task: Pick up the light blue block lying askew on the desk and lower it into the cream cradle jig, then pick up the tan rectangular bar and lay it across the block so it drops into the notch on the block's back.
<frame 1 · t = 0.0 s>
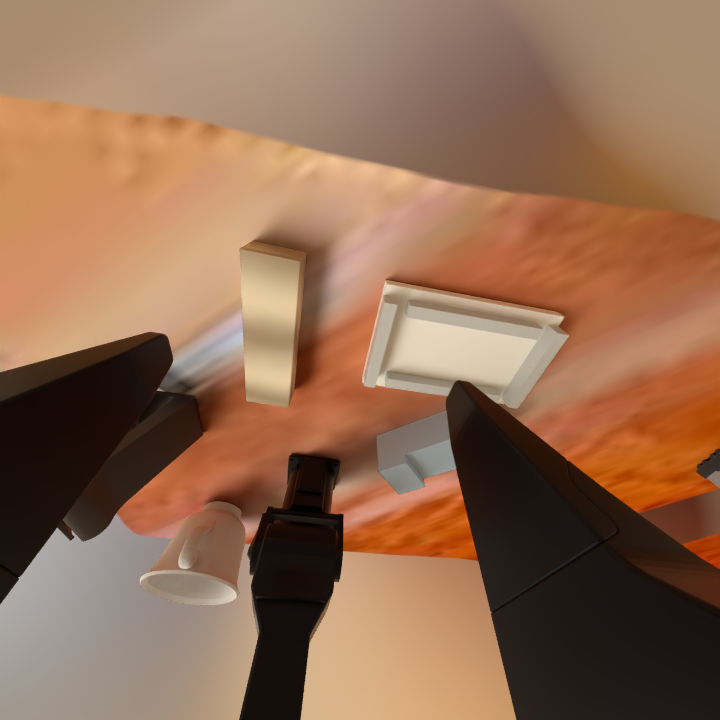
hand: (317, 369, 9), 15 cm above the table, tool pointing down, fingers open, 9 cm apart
phone stand: (159, 408, 31), on the table
jig: (451, 346, 25), on the table
teacup: (223, 504, 42), on the table
light blue block: (431, 429, 32), on the table
tan rectangular bar: (278, 325, 25), on the table
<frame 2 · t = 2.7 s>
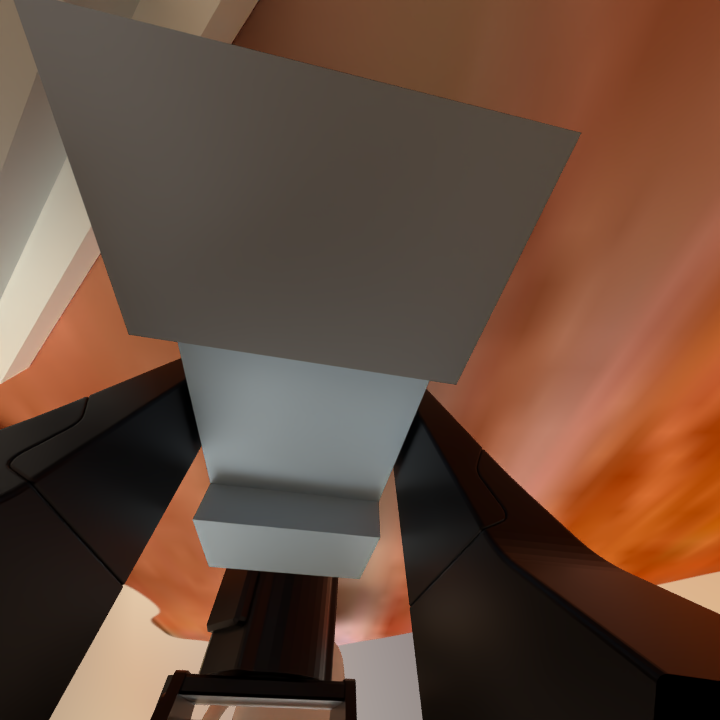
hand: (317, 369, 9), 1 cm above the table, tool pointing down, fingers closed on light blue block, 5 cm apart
teacup: (295, 613, 29), on the table
light blue block: (323, 344, 10), on the table, touching gripper
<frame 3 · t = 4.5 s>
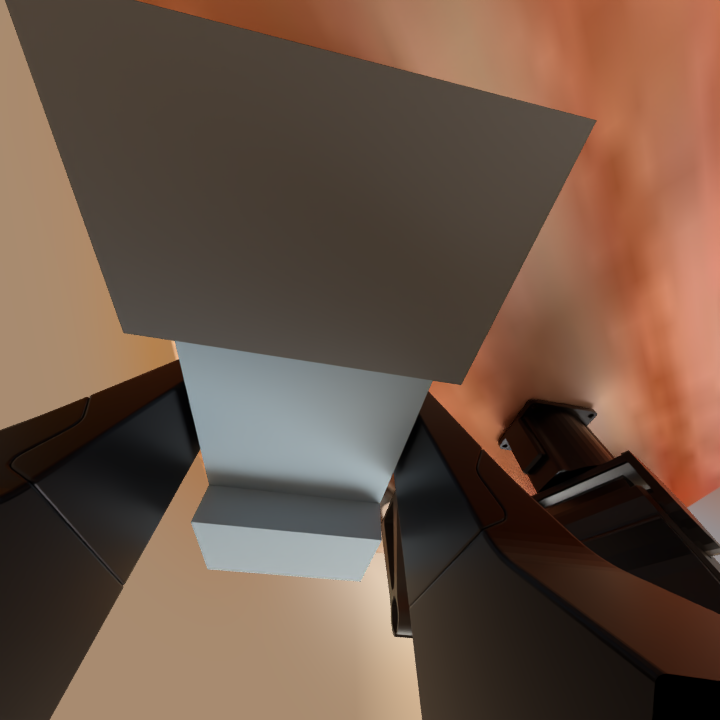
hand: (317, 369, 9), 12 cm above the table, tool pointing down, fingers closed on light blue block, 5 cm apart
phone stand: (409, 508, 36), on the table
light blue block: (323, 344, 10), point 10 cm above the table, touching gripper
when the fingers open (4 cm above the table, at t = 6.3 s): light blue block drops 2 cm, resting on jig.
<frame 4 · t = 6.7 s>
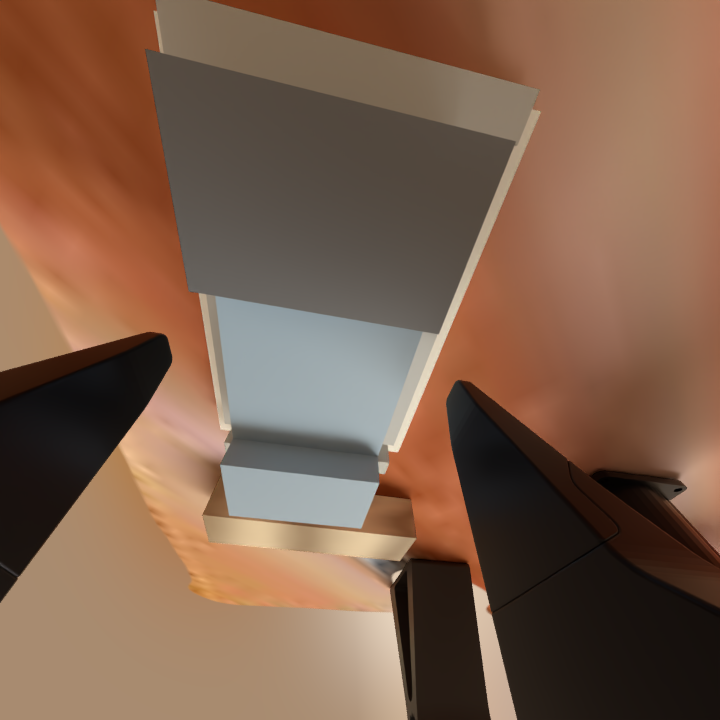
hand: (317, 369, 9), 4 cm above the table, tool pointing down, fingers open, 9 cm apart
phone stand: (425, 574, 30), on the table
jig: (329, 313, 12), on the table
light blue block: (328, 323, 11), point 1 cm above the table, touching jig
tan rectangular bar: (316, 497, 21), on the table
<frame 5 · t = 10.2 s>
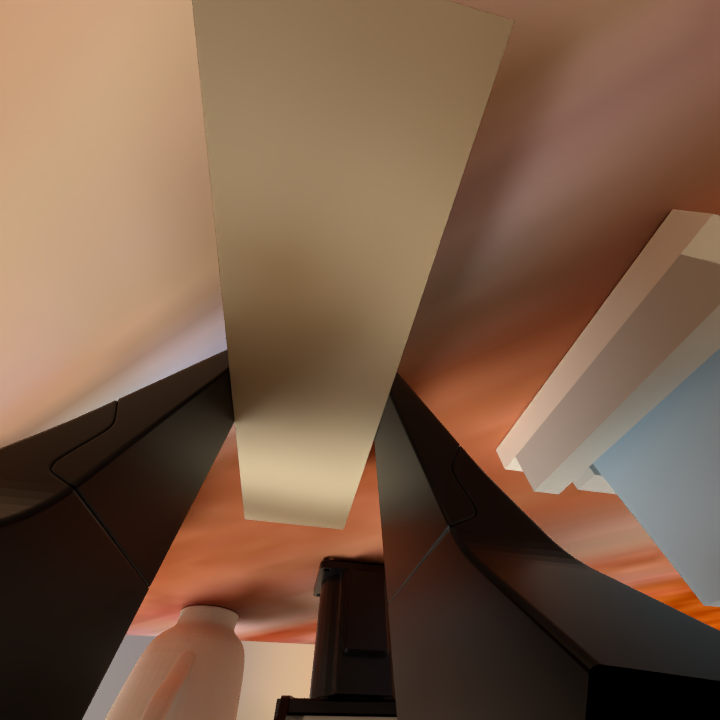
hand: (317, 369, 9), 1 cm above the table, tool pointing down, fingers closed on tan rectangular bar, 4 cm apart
teacup: (210, 606, 28), on the table
tan rectangular bar: (323, 341, 10), on the table, touching gripper
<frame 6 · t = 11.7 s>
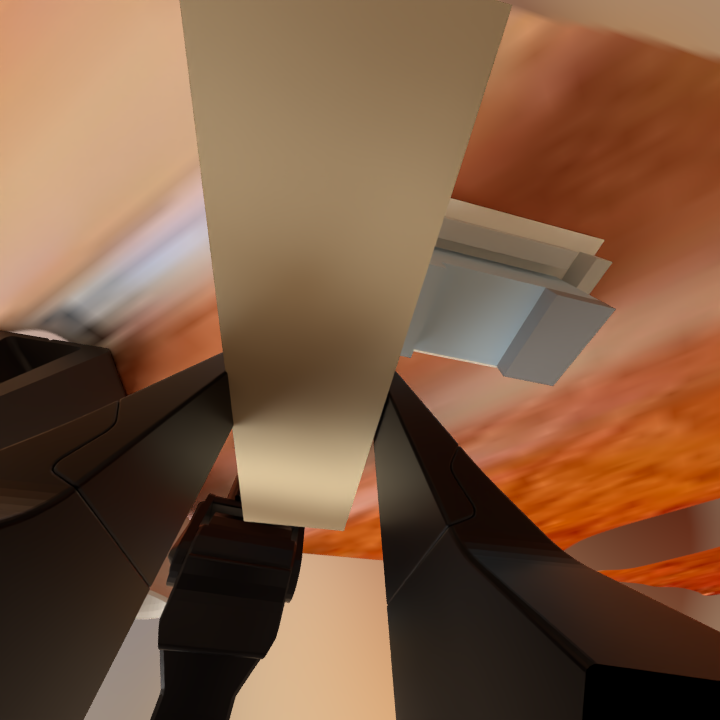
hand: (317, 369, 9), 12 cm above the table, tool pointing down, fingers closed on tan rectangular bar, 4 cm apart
phone stand: (67, 367, 24), on the table
jig: (448, 286, 19), on the table
teacup: (168, 496, 35), on the table
light blue block: (452, 293, 18), point 1 cm above the table, touching jig
tan rectangular bar: (321, 340, 10), point 10 cm above the table, touching gripper
when the fingers open (7 cm above the table, at t = 13.1 s): tan rectangular bar drops 1 cm, resting on light blue block.
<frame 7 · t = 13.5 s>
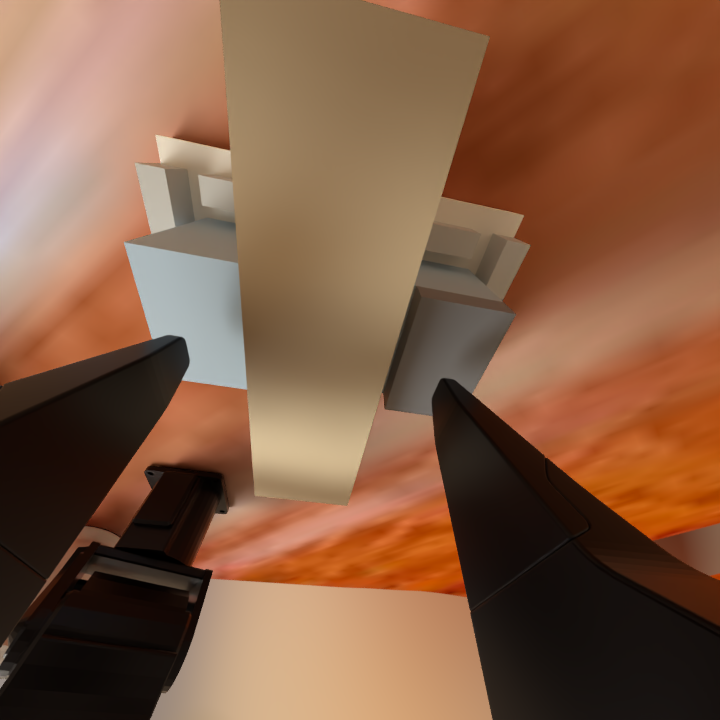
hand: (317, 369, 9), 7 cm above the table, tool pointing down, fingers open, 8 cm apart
jig: (337, 287, 15), on the table
teacup: (94, 529, 32), on the table
light blue block: (336, 295, 14), point 1 cm above the table, touching jig, tan rectangular bar
tan rectangular bar: (327, 326, 10), point 5 cm above the table, touching light blue block
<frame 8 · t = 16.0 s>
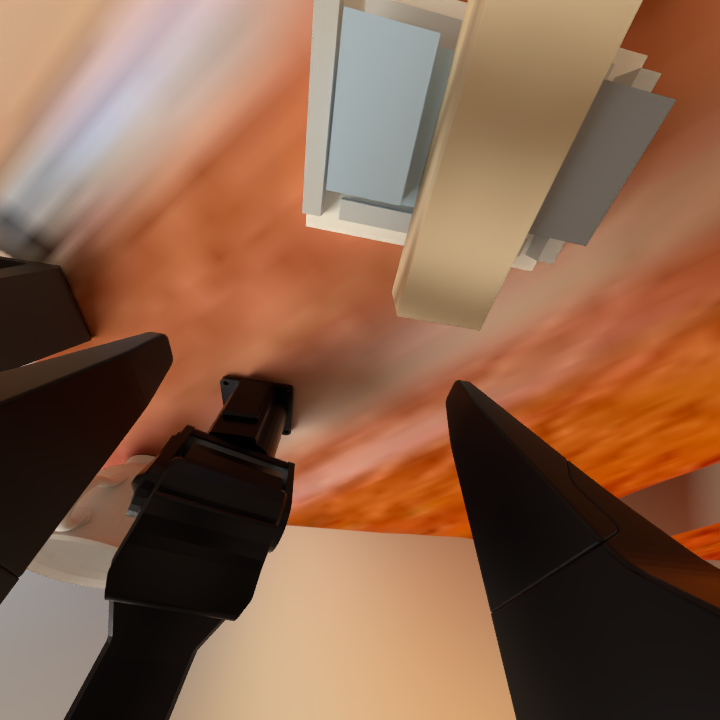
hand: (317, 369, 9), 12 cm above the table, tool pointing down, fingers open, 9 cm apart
phone stand: (18, 294, 21), on the table
jig: (447, 154, 15), on the table
teacup: (152, 460, 32), on the table
light blue block: (452, 154, 15), point 1 cm above the table, touching jig, tan rectangular bar
tan rectangular bar: (481, 139, 11), point 5 cm above the table, touching light blue block
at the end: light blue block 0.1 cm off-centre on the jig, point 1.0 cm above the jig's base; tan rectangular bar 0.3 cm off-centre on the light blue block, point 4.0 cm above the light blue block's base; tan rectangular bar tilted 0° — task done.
